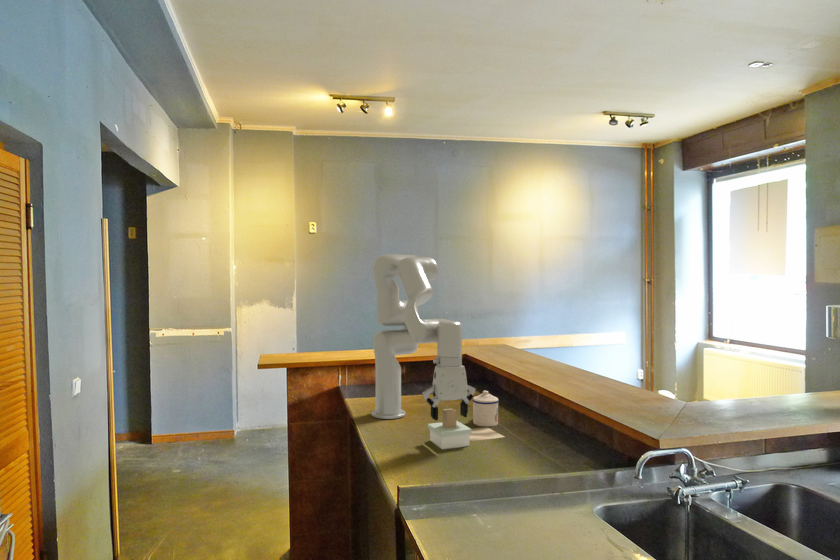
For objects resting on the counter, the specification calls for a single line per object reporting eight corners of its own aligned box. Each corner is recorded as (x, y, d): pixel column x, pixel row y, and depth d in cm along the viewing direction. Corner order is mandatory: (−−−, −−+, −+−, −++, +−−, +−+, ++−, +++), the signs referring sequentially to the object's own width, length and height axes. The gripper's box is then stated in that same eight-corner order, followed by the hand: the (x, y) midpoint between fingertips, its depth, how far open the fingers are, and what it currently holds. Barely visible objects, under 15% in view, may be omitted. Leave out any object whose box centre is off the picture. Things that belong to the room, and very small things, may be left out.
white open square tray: (430, 442, 159) (430, 428, 159) (456, 439, 163) (456, 424, 163) (442, 451, 151) (442, 436, 151) (469, 447, 154) (469, 432, 154)
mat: (454, 432, 170) (454, 430, 170) (486, 428, 174) (486, 426, 174) (471, 443, 159) (471, 441, 159) (505, 438, 163) (505, 437, 163)
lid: (427, 427, 160) (427, 407, 160) (456, 424, 163) (457, 404, 163) (441, 436, 150) (441, 415, 150) (471, 433, 154) (471, 412, 154)
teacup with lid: (501, 428, 175) (501, 393, 175) (475, 428, 174) (475, 394, 174) (493, 418, 187) (493, 386, 187) (468, 419, 186) (468, 386, 186)
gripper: (428, 365, 150) (427, 423, 150) (480, 361, 157) (480, 418, 157) (418, 361, 157) (418, 417, 157) (469, 358, 164) (469, 412, 164)
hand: (449, 417), depth 157 cm, fingers open, 9 cm apart
